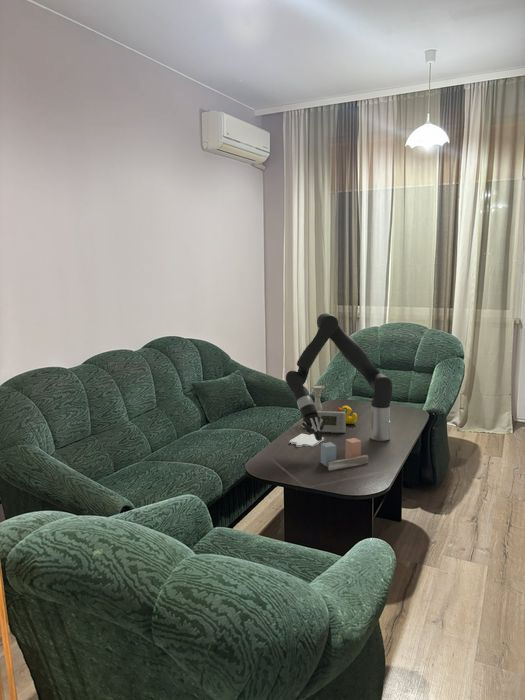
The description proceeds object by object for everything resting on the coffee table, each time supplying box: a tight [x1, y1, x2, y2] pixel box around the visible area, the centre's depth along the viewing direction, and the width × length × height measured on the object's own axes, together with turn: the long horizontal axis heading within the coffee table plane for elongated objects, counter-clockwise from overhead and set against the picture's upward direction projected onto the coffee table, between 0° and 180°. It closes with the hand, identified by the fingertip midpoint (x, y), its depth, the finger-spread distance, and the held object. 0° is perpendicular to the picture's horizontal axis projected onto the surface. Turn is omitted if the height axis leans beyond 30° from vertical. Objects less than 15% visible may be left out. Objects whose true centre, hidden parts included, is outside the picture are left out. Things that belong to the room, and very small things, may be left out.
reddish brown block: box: [344, 437, 362, 459], centre depth 246 cm, size 5×5×9 cm
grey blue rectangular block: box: [320, 441, 337, 467], centre depth 240 cm, size 5×5×9 cm
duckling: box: [337, 405, 358, 425], centre depth 300 cm, size 11×5×10 cm, turn 61°
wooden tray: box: [327, 454, 369, 472], centre depth 244 cm, size 14×20×4 cm
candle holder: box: [310, 384, 325, 411], centre depth 304 cm, size 9×9×20 cm
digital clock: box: [317, 410, 347, 434], centre depth 287 cm, size 16×9×11 cm, turn 69°
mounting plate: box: [288, 433, 325, 448], centre depth 272 cm, size 18×13×2 cm
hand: (319, 439), depth 247 cm, fingers closed
